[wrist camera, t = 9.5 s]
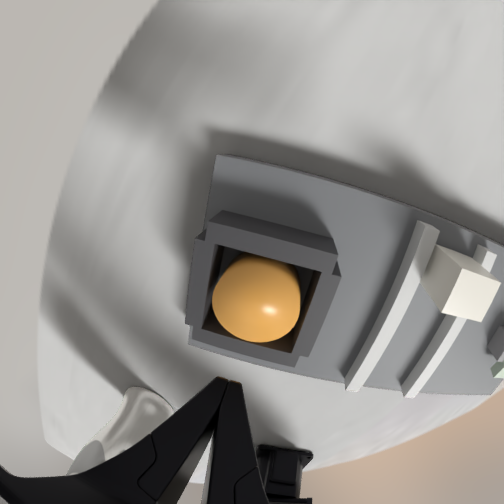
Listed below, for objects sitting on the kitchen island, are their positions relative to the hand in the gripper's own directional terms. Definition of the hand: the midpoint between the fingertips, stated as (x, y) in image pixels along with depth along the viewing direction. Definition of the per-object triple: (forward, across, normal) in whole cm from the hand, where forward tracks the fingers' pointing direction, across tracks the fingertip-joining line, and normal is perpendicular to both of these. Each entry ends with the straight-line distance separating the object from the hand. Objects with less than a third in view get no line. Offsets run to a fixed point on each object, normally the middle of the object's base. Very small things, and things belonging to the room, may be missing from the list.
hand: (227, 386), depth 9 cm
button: (+8, 0, 0) cm, 8 cm away
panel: (+10, -11, 0) cm, 15 cm away
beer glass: (+11, +8, +20) cm, 24 cm away
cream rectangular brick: (+8, -11, -4) cm, 14 cm away
